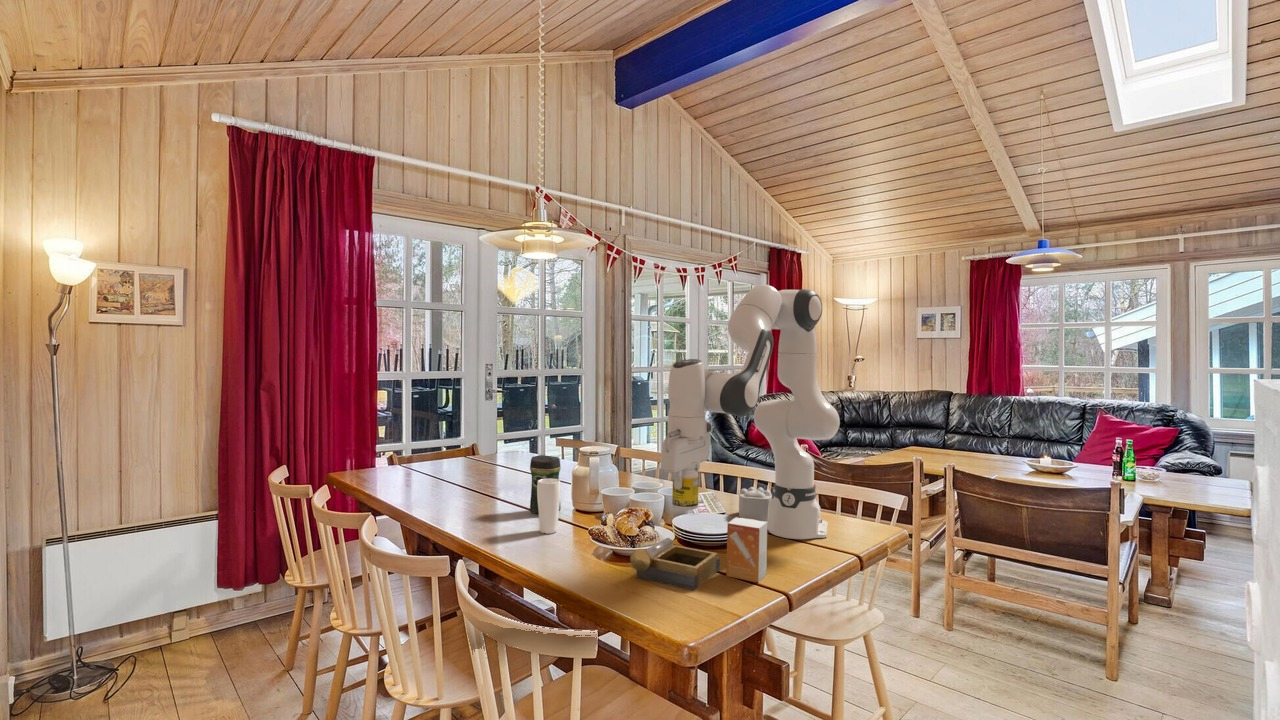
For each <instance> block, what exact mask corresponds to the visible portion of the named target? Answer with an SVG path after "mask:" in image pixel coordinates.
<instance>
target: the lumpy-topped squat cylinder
mask: <svg viewBox="0 0 1280 720" xmlns="http://www.w3.org/2000/svg"><path fill="white" fill-rule="evenodd" d="M772 499H773V494H772V492H771V490H769V489H766V490H764V488H763V487H761V486H759V487H758V488H755V487H754V486H751V487H748V489H747V488H745V487H744V488H741V489H740V492H739V494H738V518H739V517H740V518H745V519H753V520H758V521H765V522H767V520H768V506H769V501H771V500H772Z"/></svg>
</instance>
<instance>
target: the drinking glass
mask: <svg viewBox="0 0 1280 720" xmlns="http://www.w3.org/2000/svg"><path fill="white" fill-rule="evenodd" d="M561 489H562V488H561V480H560V479H559V480H558V479H551V478H549V479H541V480H538V483H537V499H538V512H539V514H538V523H539V524H538V525H539V528H538V529H539V532H540V533H542V534H544V533H545V534H546V535H549V534H550V535H551V534H555V533H557V532H558V530H559V515H560V513H559V512H560V511H559V505H560V506H561V491H562V490H561Z"/></svg>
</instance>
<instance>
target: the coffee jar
mask: <svg viewBox="0 0 1280 720" xmlns="http://www.w3.org/2000/svg"><path fill="white" fill-rule="evenodd" d="M561 467H562V466H561V459H560V457H558V456H552V455H542V454H541V455H539V454H538V455H535V456H532V457H531V459H530V465H529V470H530V471H529V472H530V475H531V491H530V502H529V511H530V513H532V514H536V515H539V512H538V499H537V483H538V480H541V479H549V478H551V479H558V480H560V479H559V478H560V477H559V476H560V472H561ZM560 511H561V504H560V505H559V512H560Z"/></svg>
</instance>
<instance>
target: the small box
mask: <svg viewBox="0 0 1280 720" xmlns="http://www.w3.org/2000/svg"><path fill="white" fill-rule="evenodd" d="M726 530H727V531H726V532H727V535H726V540H727V541H726V571H725V572H726V573H725V575H726V577H727V578H735V579H738V580H744V581H747V582H752V583H756V582H759V581H760V580H761V581H762V580H763V579H764V578H765V576H767V562H768V561H767V555H768V549H767V548H768V547H767V546H768V530H767V521H758V520H753V519H745V518H739V516H735V517H734V518H733V519H731V520H730V521H729V522H727V529H726ZM761 581H760V582H761ZM760 582H759V583H760Z"/></svg>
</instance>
